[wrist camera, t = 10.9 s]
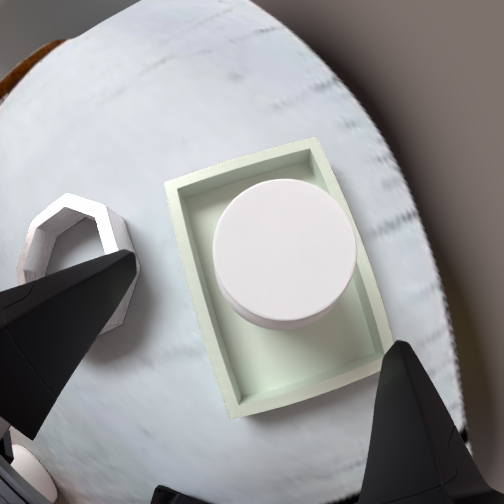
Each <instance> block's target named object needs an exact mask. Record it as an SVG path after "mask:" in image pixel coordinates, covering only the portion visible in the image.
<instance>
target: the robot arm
mask: <svg viewBox="0 0 504 504" xmlns="http://www.w3.org/2000/svg"><path fill="white" fill-rule="evenodd" d="M136 274H137V266H136V255H135V253H134V252H132V251H130V250H127V249H122V250H119V251H116V252H113V253H110V254H107V255H104V256H101V257H98V258H95V259H92V260H89V261H86V262H83V263H80V264H77V265H75V266H72V267H69V268H66V269H63V270H61V271H58V272H55V273H52V274H50V275H47V276H44V277H41V278H39V279H37V280H33V281H31V282H28V283H25V284H23V285H20V286H17V287H14V288H11V289H8V290H5V291H1V292H0V504H53V503H52V502H51V501H49V500H48V499H47V498H46V497H45V496H43V495H42V494H41V493H40V492H39V491H37V490H36V489H35V488H34V487H33V486H32V485H31V484H29V483H28V482H27V481H26V480H25V479H24V478H23V477H22V476H21V475H20V474H19V473H18V472H17V471H16V470H15V469H14V468H13V467H12V466H11V463H12V462H13V460H14V455H13V449H12V443H11V436H10V430H9V428H10V426H11V425H12V426H13V427H14V428H15V429H17V430H18V431H19V432H21V433H22V434H24V435H25V436H26V437H28V438H29V439H31V440H32V441H33V440H34V438H35V437H36V435H37V433H38V431H39V429H40V428H41V426H42V424H43V422H44V420H45V419H46V417H47V415H48V414H49V412H50V410H51V408H52V407H53V405H54V403H55V402H56V400H57V398H58V396H59V395H60V393H61V391H62V390H63V388H64V387H65V385H66V383H67V382H68V380H69V379H70V377H71V375H72V374H73V372H74V371H75V369H76V368H77V366H78V365H79V363H80V362H81V360H82V359H83V357H84V356H85V354H86V353H87V351H88V350H89V348H90V347H91V345H92V344H93V342H94V341H95V339H96V338H97V336H98V335H99V334H100V332H101V331H102V329H103V328H104V326H105V325H106V324H107V322H108V321H109V319H110V318H111V317H112V315H113V314H114V312H115V311H116V309H117V308H118V306H119V304H120V303H121V301H122V299H123V297H124V296H125V294H126V292H127V291H128V289H129V287H130V286H131V284H132V282H133V281H134V279H135V277H136ZM160 490H162V491H160ZM151 504H208V503H205V502H202V501H199V500H197V499H194V498H191V497H189V496H186V495H183V494H181V493H178V492H176V491H174V490H171V489H169V488H167V487H164V486H162V485H158V486H157V487H156V488H155V490H154V494H153V497H152V500H151ZM358 504H504V494H503V493H500V492H498V491H496V490H494V489H493V488H491V487H490V486H489V485H488V484H487V483H486V481H485V480H484V478H483V476H482V474H481V473H480V471H479V469H478V467H477V465H476V464H475V462H474V460H473V458H472V456H471V455H470V453H469V451H468V449H467V447H466V446H465V444H464V442H463V440H462V438H461V436H460V434H459V432H458V430H457V428H456V426H455V425H454V422H453V420H452V418H451V416H450V414H449V412H448V410H447V408H446V407H445V405H444V403H443V401H442V399H441V397H440V395H439V394H438V392H437V390H436V388H435V386H434V385H433V383H432V381H431V379H430V378H429V376H428V374H427V372H426V371H425V369H424V367H423V366H422V364H421V362H420V361H419V359H418V357H417V356H416V354H415V352H414V351H413V349H412V347H411V346H410V344H409V343H408V342H405V341H401V340H397V341H395V343H394V344H393V345H392V346H391V347H390V349H389V350H388V351H387V352H386V354H385V355H384V357H383V360H382V366H381V372H380V377H379V383H378V388H377V393H376V399H375V406H374V416H373V424H372V432H371V439H370V446H369V452H368V458H367V463H366V469H365V474H364V479H363V484H362V488H361V493H360V497H359V501H358Z"/></svg>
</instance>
